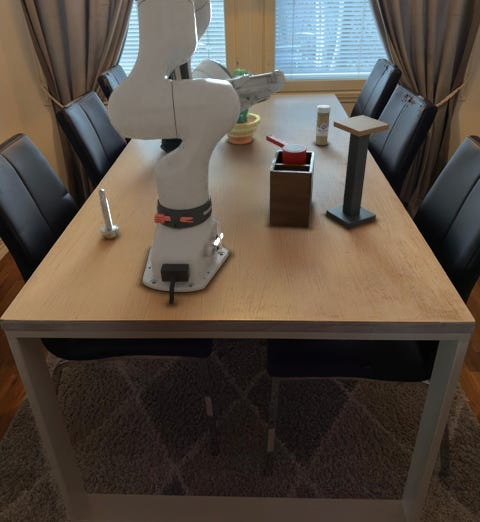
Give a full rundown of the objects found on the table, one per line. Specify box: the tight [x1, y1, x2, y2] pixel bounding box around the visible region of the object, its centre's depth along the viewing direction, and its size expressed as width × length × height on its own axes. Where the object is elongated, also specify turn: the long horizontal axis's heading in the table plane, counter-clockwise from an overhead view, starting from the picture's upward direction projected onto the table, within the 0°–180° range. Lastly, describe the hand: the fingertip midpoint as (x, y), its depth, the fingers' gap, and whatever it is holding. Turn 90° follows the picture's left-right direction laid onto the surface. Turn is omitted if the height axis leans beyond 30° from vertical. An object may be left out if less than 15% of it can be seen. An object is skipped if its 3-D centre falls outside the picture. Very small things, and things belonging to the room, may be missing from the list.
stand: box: [325, 114, 390, 230], centre depth 117 cm, size 9×9×25 cm
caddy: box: [269, 149, 316, 229], centre depth 122 cm, size 14×10×15 cm
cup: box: [265, 134, 308, 165], centre depth 124 cm, size 15×6×9 cm, turn 30°
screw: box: [98, 188, 120, 239], centre depth 115 cm, size 13×5×5 cm
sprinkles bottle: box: [314, 104, 331, 146], centre depth 167 cm, size 5×5×14 cm
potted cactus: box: [225, 67, 262, 145], centre depth 169 cm, size 15×15×25 cm
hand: (263, 75), depth 121 cm, fingers open, 8 cm apart
